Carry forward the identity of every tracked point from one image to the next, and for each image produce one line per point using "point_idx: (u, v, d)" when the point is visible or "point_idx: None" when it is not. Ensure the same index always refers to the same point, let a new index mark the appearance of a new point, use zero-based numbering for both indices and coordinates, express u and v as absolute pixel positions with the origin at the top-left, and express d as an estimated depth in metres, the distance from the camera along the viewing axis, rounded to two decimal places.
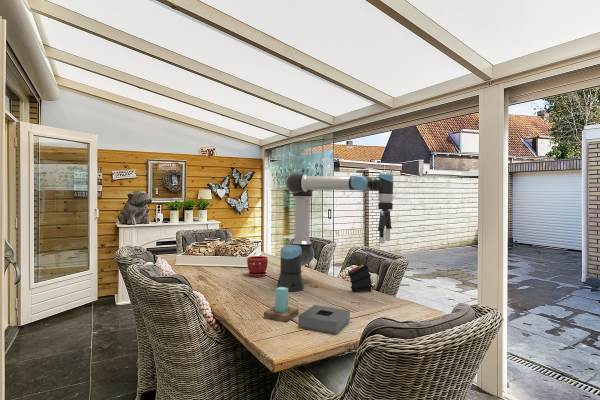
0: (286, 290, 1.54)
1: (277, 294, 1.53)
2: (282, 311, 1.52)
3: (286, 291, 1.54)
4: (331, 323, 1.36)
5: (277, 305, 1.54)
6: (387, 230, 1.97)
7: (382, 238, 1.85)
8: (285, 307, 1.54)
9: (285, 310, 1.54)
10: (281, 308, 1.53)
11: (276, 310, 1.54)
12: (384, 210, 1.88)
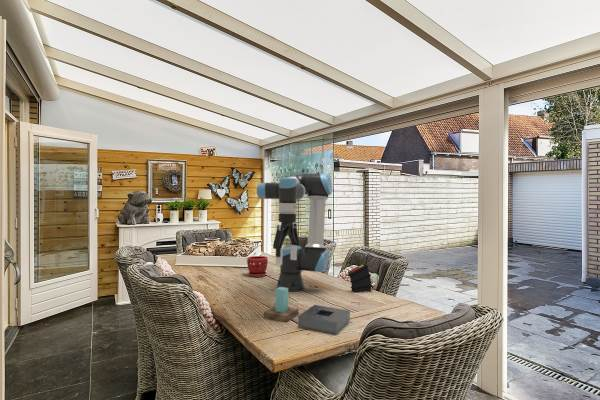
0: (286, 290, 1.54)
1: (277, 294, 1.53)
2: (282, 311, 1.52)
3: (286, 291, 1.54)
4: (331, 323, 1.36)
5: (277, 305, 1.54)
6: (293, 247, 1.61)
7: (279, 258, 1.49)
8: (285, 307, 1.54)
9: (285, 310, 1.54)
10: (281, 308, 1.53)
11: (276, 310, 1.54)
12: (283, 223, 1.52)
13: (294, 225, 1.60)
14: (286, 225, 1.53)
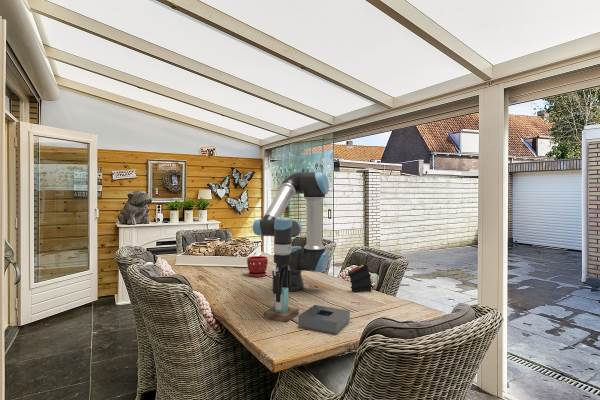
0: (286, 290, 1.54)
1: None
2: (282, 311, 1.52)
3: (286, 291, 1.54)
4: (331, 323, 1.36)
5: None
6: None
7: (279, 303, 1.52)
8: (285, 307, 1.54)
9: (285, 310, 1.54)
10: None
11: (276, 310, 1.54)
12: (278, 265, 1.51)
13: (289, 267, 1.59)
14: (281, 266, 1.51)
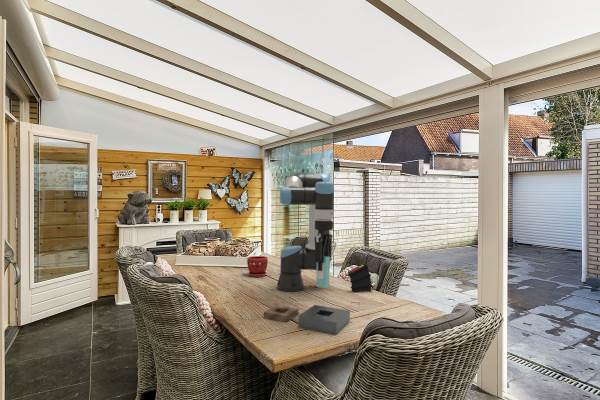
0: (328, 258, 1.46)
1: None
2: (324, 280, 1.44)
3: (328, 260, 1.46)
4: (331, 323, 1.36)
5: None
6: None
7: (321, 272, 1.44)
8: (327, 276, 1.45)
9: (327, 280, 1.45)
10: None
11: (317, 280, 1.45)
12: (321, 231, 1.43)
13: (330, 236, 1.50)
14: (323, 233, 1.43)
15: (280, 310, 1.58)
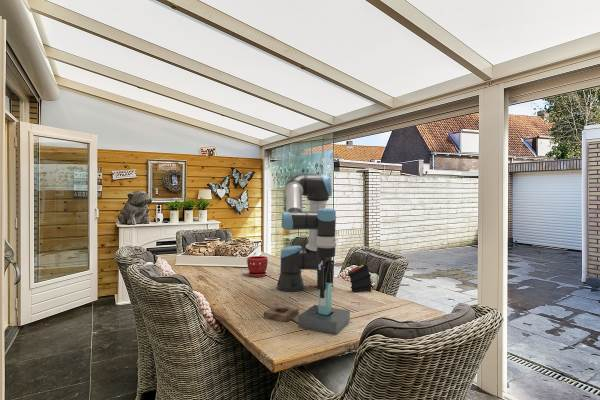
0: (330, 285, 1.45)
1: None
2: (326, 307, 1.44)
3: (330, 286, 1.45)
4: (331, 323, 1.36)
5: None
6: None
7: (323, 299, 1.43)
8: (329, 303, 1.45)
9: (329, 306, 1.45)
10: None
11: (319, 306, 1.45)
12: (323, 258, 1.42)
13: (332, 261, 1.50)
14: (325, 260, 1.43)
15: (280, 310, 1.58)
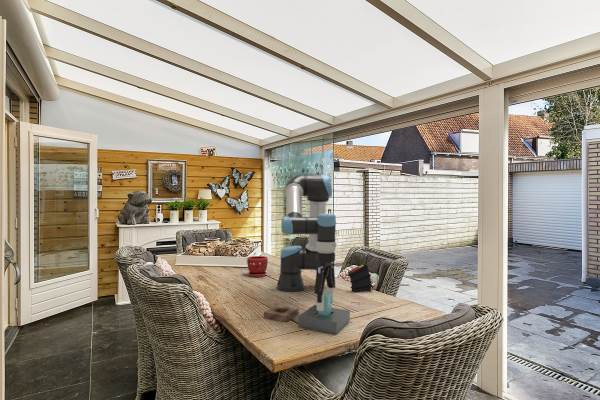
0: (329, 297, 1.45)
1: None
2: None
3: (329, 298, 1.45)
4: (331, 323, 1.36)
5: (320, 313, 1.45)
6: (329, 290, 1.50)
7: (320, 304, 1.41)
8: (328, 315, 1.45)
9: None
10: (325, 315, 1.44)
11: None
12: (323, 263, 1.42)
13: (332, 264, 1.51)
14: (325, 265, 1.43)
15: (280, 310, 1.58)
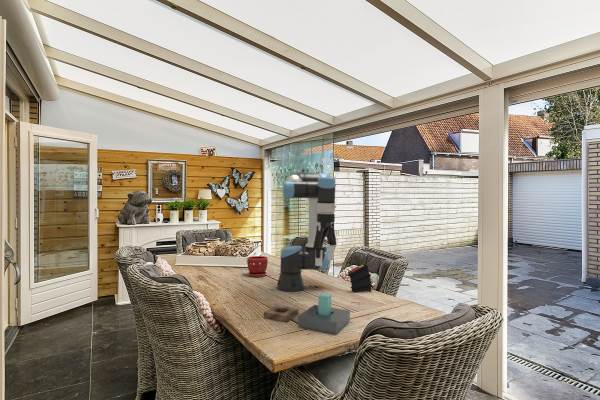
0: (329, 297, 1.45)
1: (320, 301, 1.45)
2: None
3: (329, 298, 1.46)
4: (331, 323, 1.36)
5: (320, 312, 1.45)
6: (330, 247, 1.59)
7: (319, 259, 1.47)
8: (329, 315, 1.45)
9: None
10: (325, 315, 1.44)
11: None
12: (323, 224, 1.50)
13: (332, 225, 1.58)
14: (325, 226, 1.50)
15: (280, 310, 1.58)
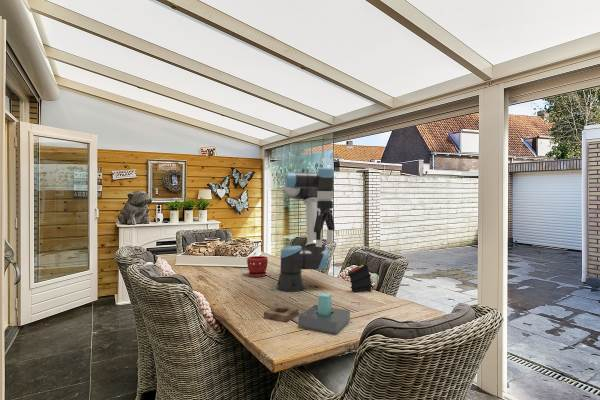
0: (329, 297, 1.45)
1: (320, 301, 1.45)
2: None
3: (329, 298, 1.46)
4: (331, 323, 1.36)
5: (320, 312, 1.45)
6: (329, 232, 1.77)
7: (319, 241, 1.64)
8: (329, 315, 1.45)
9: None
10: (325, 315, 1.44)
11: None
12: (322, 209, 1.67)
13: (330, 211, 1.75)
14: (324, 211, 1.68)
15: (280, 310, 1.58)
